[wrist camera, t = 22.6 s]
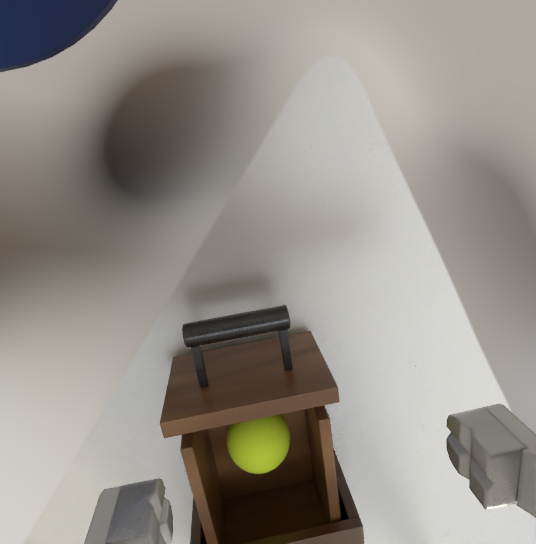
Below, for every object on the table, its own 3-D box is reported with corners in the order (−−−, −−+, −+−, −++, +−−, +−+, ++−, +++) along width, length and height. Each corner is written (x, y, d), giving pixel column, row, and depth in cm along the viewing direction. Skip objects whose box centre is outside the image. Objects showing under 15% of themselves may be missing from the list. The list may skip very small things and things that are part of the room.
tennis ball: (220, 397, 32) (221, 446, 27) (280, 386, 32) (291, 432, 27) (231, 442, 34) (233, 494, 29) (287, 431, 34) (298, 481, 29)
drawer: (158, 303, 30) (139, 356, 22) (303, 277, 30) (331, 320, 23) (210, 498, 36) (208, 588, 29) (327, 472, 37) (354, 553, 30)
